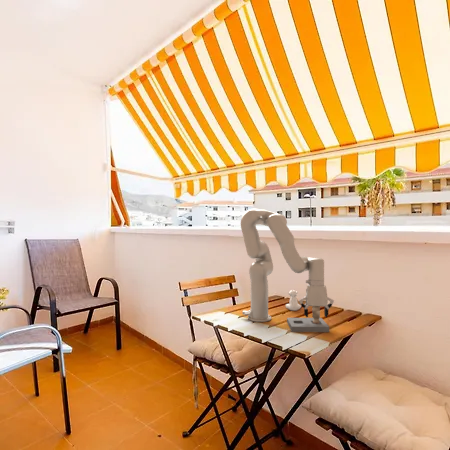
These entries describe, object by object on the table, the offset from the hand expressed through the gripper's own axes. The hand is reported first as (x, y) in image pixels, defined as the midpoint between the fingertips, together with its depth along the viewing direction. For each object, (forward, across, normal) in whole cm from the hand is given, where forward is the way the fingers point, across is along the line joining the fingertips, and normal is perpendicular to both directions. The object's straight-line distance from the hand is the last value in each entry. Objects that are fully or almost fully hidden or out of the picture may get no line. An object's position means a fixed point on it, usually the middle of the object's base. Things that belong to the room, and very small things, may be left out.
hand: (316, 316), depth 161 cm
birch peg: (+5, 0, 0) cm, 5 cm away
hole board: (+5, -4, 0) cm, 7 cm away
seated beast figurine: (+6, -6, +32) cm, 33 cm away
